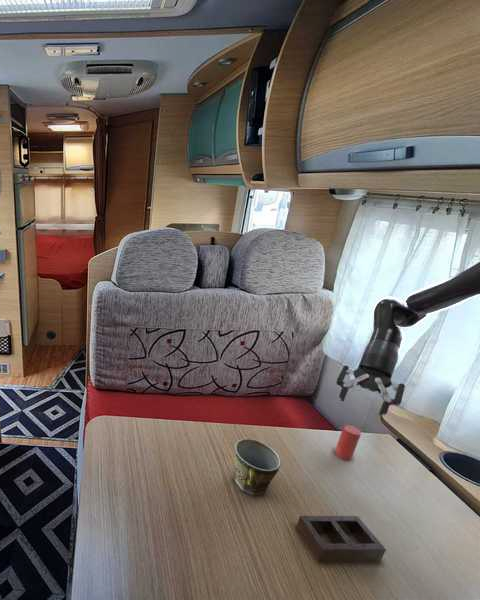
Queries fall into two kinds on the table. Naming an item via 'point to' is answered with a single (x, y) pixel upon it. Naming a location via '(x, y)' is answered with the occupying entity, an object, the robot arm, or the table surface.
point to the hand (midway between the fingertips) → (360, 407)
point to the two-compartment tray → (340, 539)
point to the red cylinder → (347, 442)
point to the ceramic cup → (255, 465)
